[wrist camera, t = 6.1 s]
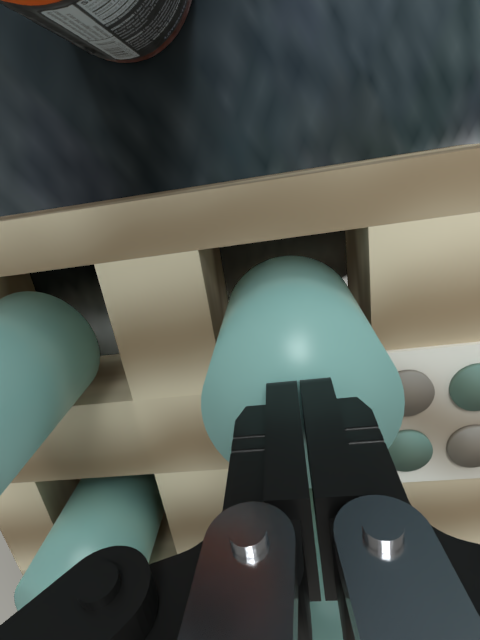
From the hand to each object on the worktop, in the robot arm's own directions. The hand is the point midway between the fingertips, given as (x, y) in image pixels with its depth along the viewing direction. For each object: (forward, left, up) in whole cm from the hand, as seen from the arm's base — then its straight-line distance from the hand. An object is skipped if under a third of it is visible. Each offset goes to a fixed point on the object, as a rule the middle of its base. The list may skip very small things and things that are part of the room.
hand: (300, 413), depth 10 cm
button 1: (+10, -10, -8) cm, 16 cm away
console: (+5, -4, -11) cm, 13 cm away
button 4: (0, 0, -6) cm, 6 cm away
